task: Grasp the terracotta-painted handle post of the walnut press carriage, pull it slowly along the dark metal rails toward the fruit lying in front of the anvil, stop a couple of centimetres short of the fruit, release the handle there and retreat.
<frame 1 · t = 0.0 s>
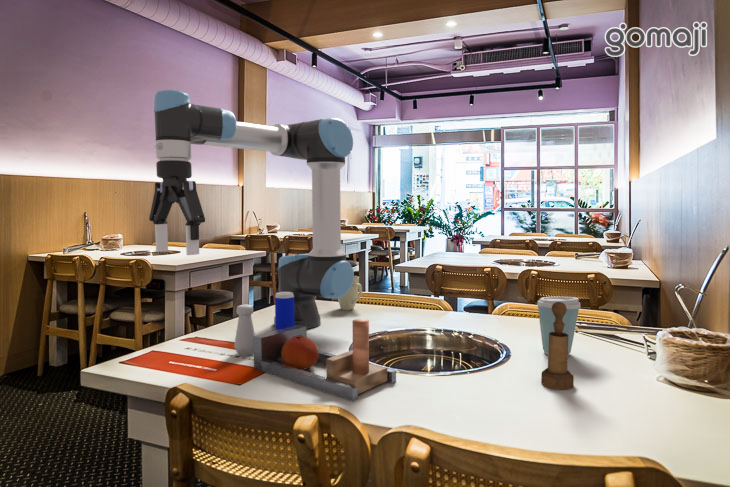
hand: (177, 253, 117), 28 cm above the table, fingers open, 13 cm apart
disposable coffee cup: (557, 354, 132), on the table
mortar and pestle: (557, 385, 109), on the table
fruit: (300, 369, 121), resting in press base
beverage can: (285, 347, 139), on the table
mug: (349, 309, 190), on the table
press base: (321, 374, 116), on the table
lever: (357, 352, 109), point 7 cm above the table, slide at 0.0 cm
salt shaker: (245, 354, 133), on the table
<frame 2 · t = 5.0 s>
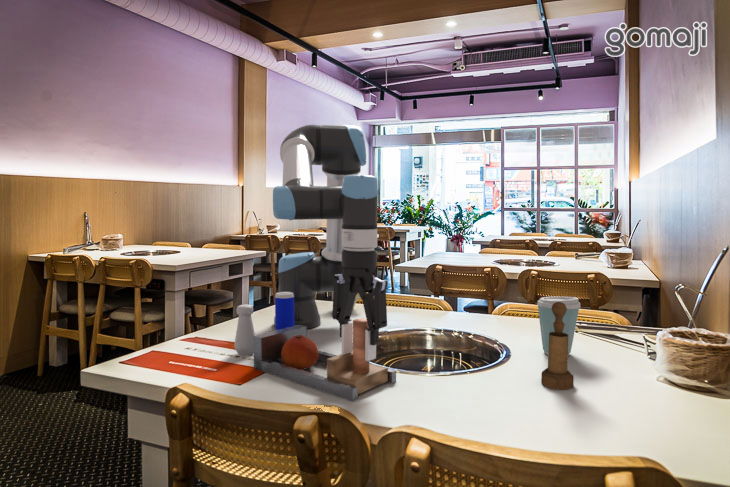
hand: (358, 355, 109), 7 cm above the table, fingers open, 6 cm apart
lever: (357, 352, 109), point 7 cm above the table, slide at -0.1 cm, touching gripper
everything else where it was.
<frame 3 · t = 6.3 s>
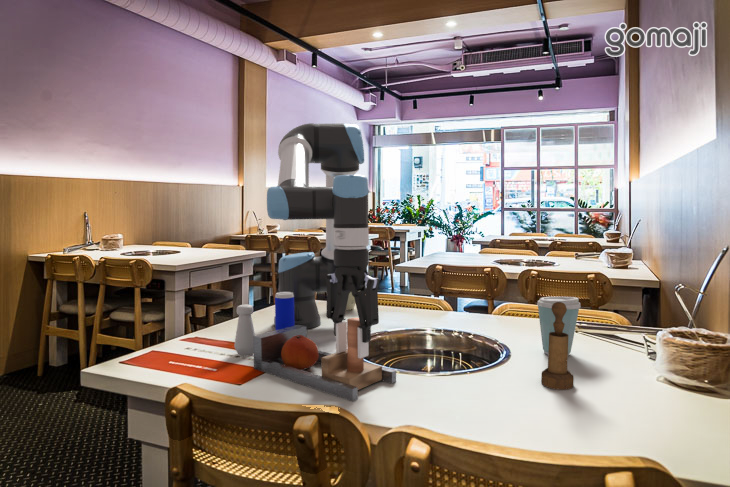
hand: (352, 353, 110), 7 cm above the table, fingers closed on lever, 6 cm apart
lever: (352, 350, 110), point 7 cm above the table, slide at 1.5 cm, touching gripper
everything else where it was.
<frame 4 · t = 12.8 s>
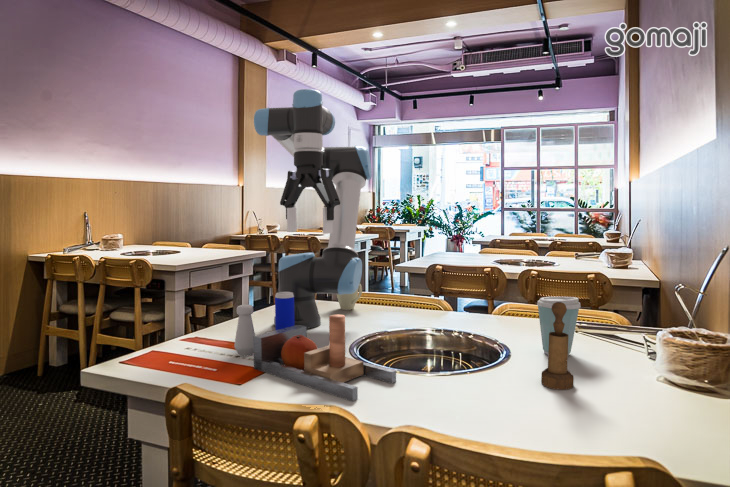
hand: (309, 232, 133), 32 cm above the table, fingers open, 13 cm apart
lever: (334, 346, 113), point 7 cm above the table, slide at 6.9 cm
everything else where it was.
at the end: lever slide at 6.9 cm; fruit moved 0.3 cm from its start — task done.
